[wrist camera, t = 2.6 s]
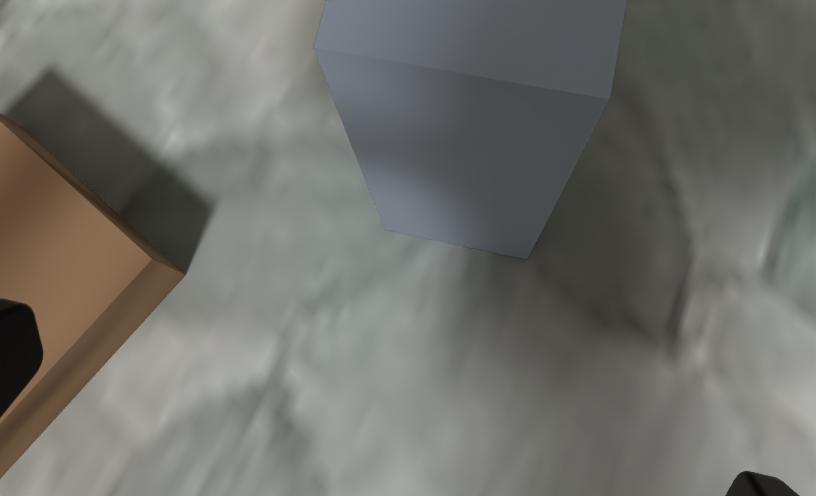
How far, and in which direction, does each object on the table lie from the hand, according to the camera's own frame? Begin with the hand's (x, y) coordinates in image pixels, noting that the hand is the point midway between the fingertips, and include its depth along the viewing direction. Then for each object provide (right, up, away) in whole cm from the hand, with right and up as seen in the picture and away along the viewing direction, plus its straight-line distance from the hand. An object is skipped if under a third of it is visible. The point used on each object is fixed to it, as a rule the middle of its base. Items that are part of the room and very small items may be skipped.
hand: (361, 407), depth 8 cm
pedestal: (-14, 0, +15) cm, 20 cm away
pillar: (+3, +4, +15) cm, 16 cm away
